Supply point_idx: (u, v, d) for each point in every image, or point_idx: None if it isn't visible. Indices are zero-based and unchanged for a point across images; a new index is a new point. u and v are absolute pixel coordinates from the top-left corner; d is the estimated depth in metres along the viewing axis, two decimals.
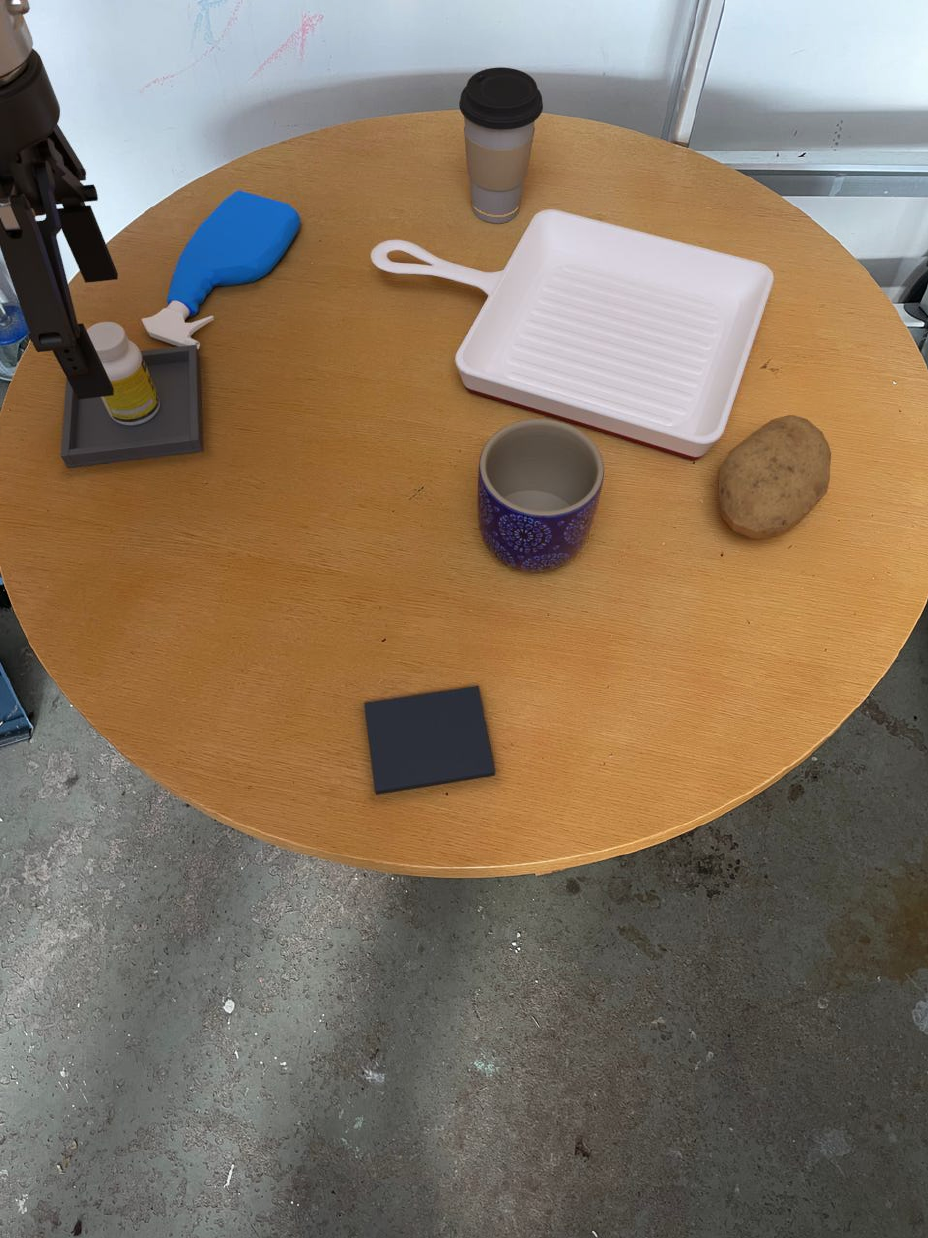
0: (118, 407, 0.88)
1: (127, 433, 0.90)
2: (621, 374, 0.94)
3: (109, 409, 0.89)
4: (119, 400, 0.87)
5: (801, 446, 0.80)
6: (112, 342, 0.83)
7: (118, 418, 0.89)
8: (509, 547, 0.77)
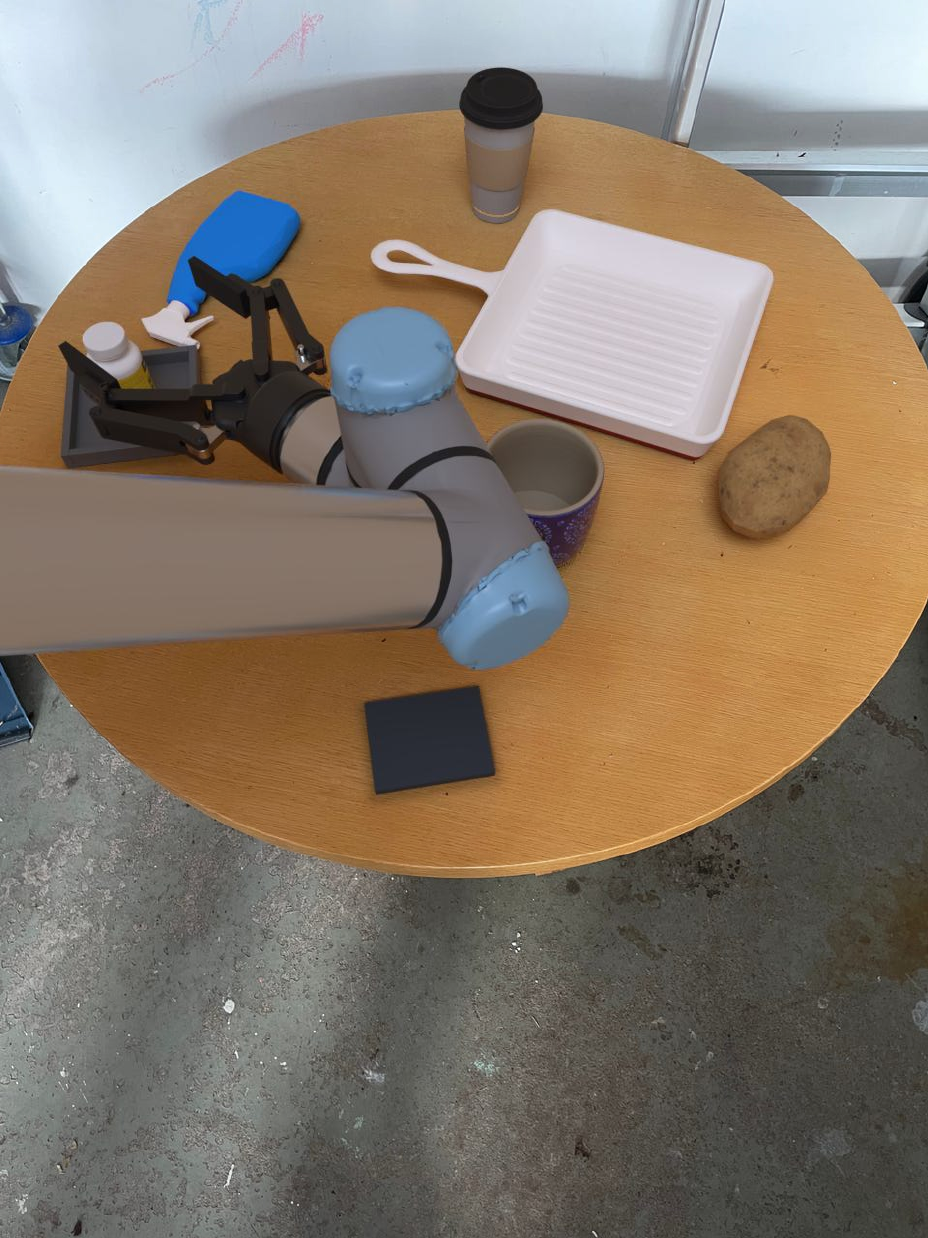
0: None
1: None
2: (621, 374, 0.94)
3: None
4: None
5: (801, 446, 0.80)
6: (112, 342, 0.83)
7: None
8: None
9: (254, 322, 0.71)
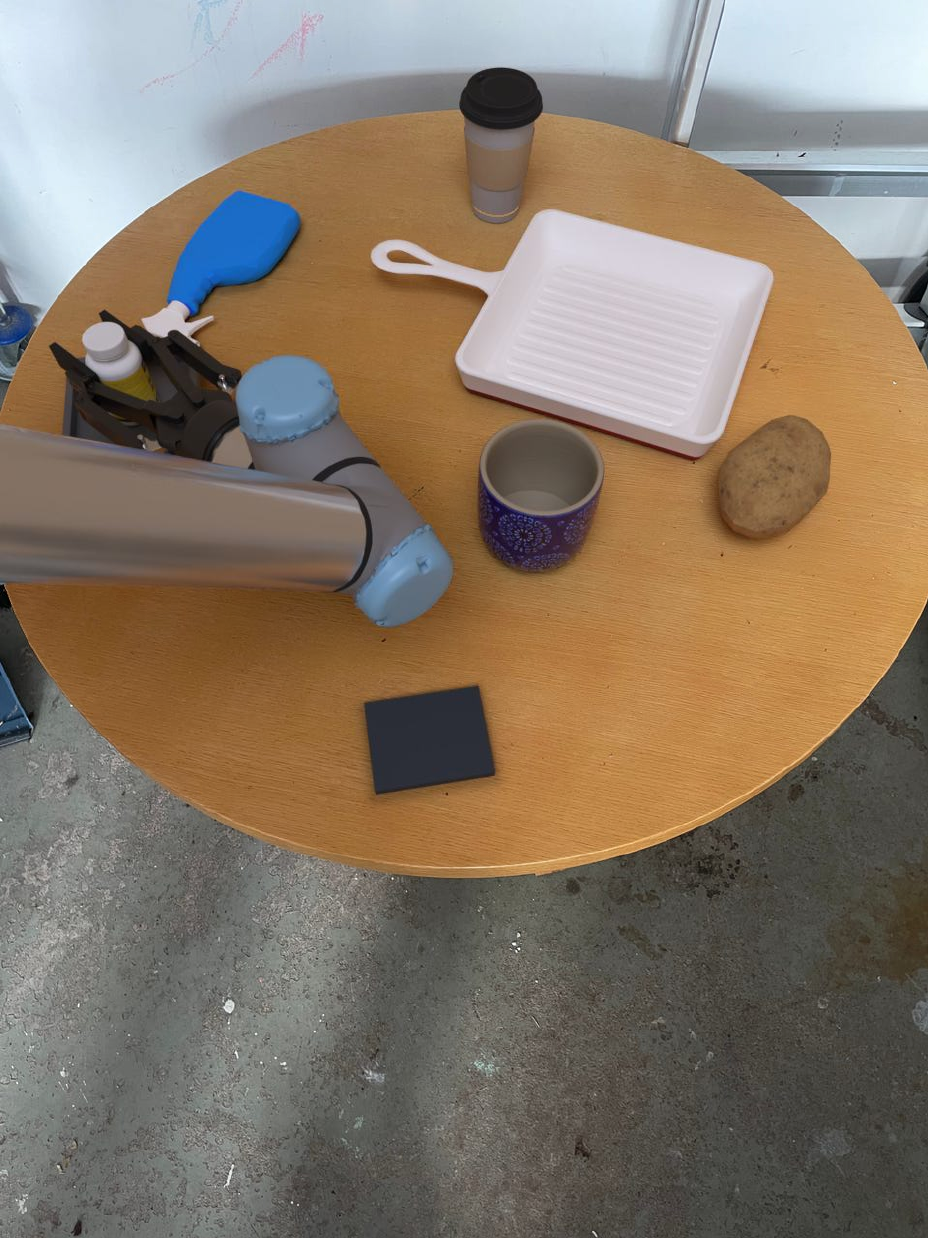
0: None
1: None
2: (621, 374, 0.94)
3: None
4: None
5: (801, 446, 0.80)
6: (111, 342, 0.83)
7: (118, 418, 0.89)
8: (509, 547, 0.77)
9: (168, 365, 0.84)
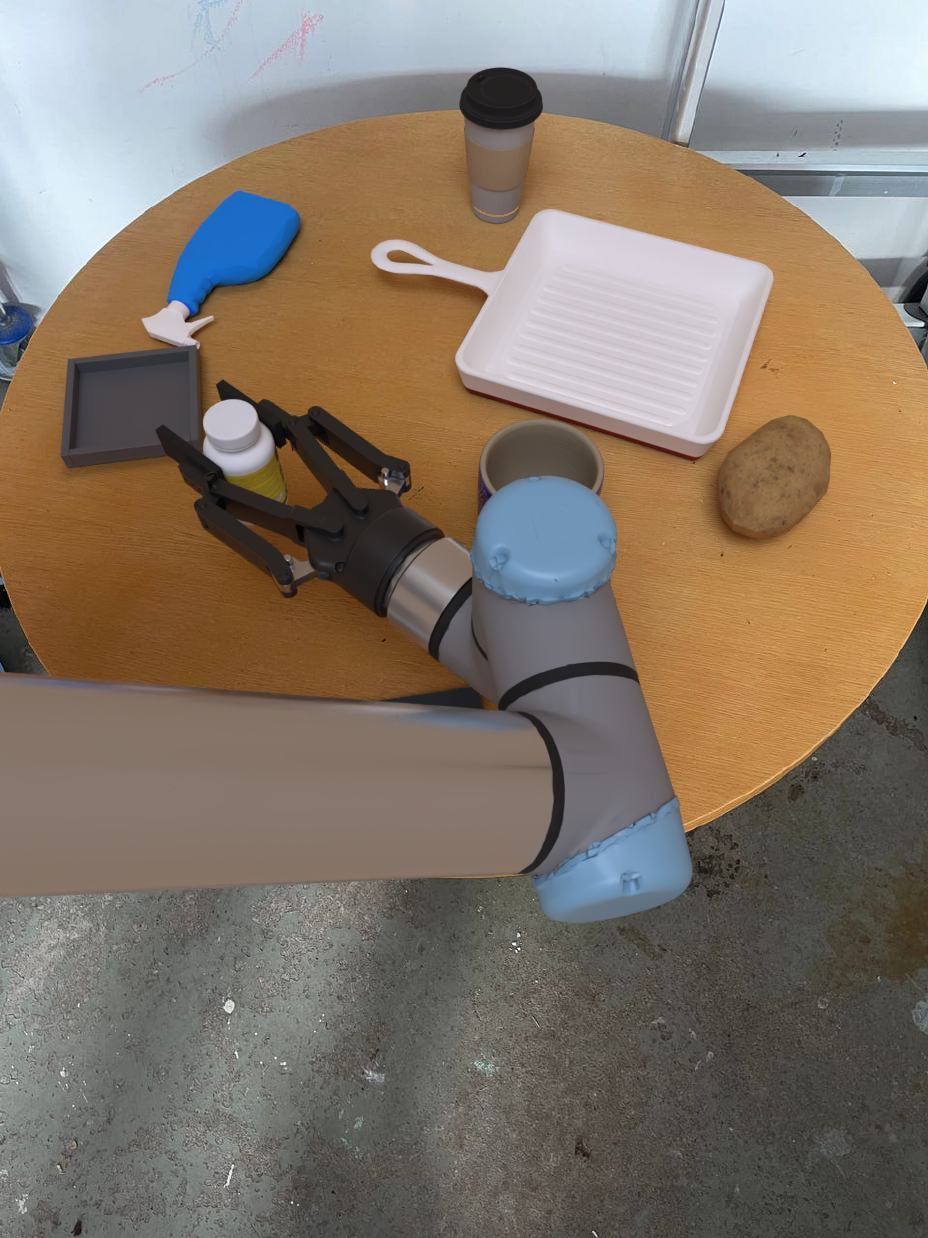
0: None
1: (127, 433, 0.90)
2: (621, 374, 0.94)
3: None
4: None
5: (801, 446, 0.80)
6: (242, 428, 0.63)
7: None
8: None
9: (313, 455, 0.64)
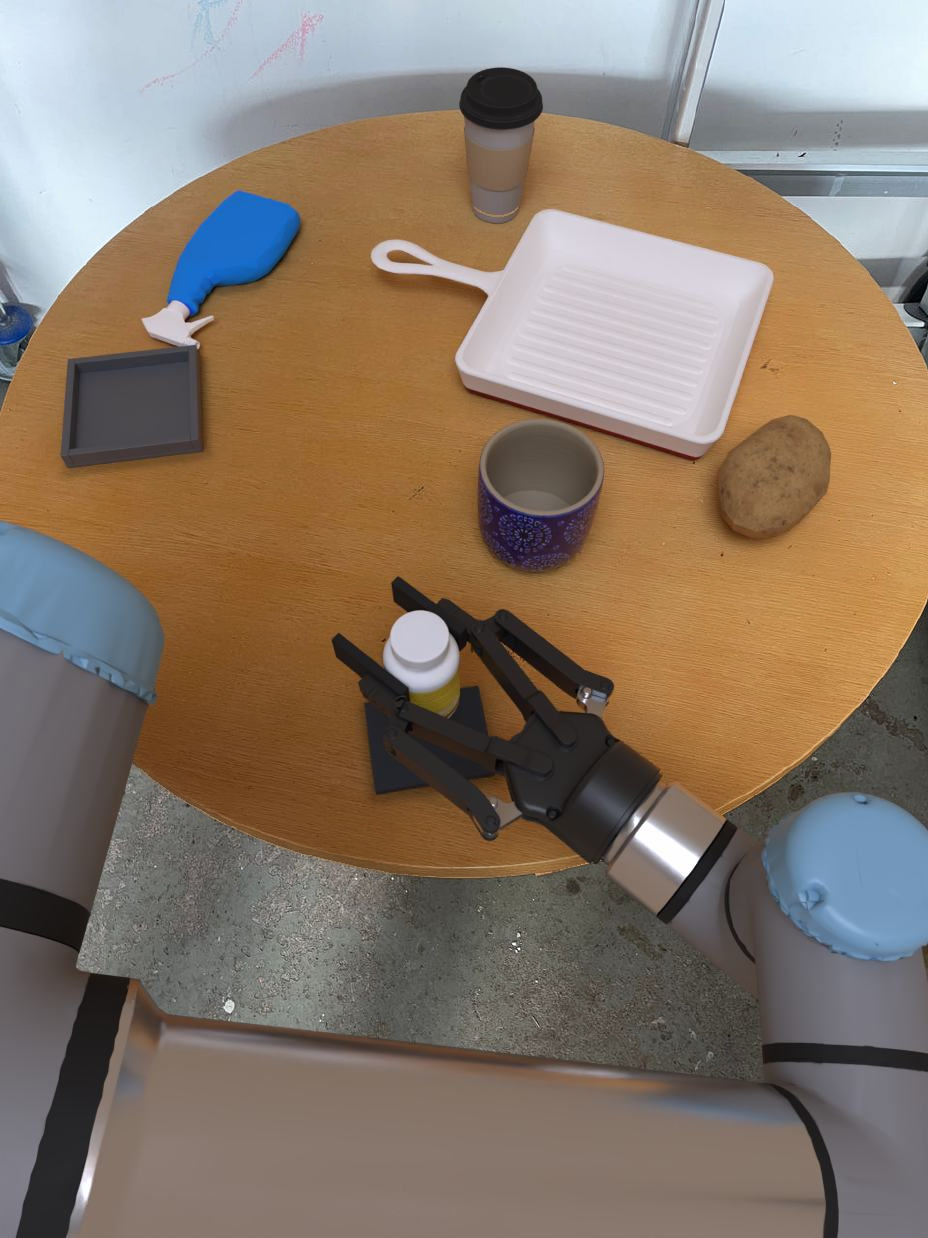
0: None
1: (127, 433, 0.90)
2: (621, 374, 0.94)
3: None
4: None
5: (801, 446, 0.80)
6: (434, 648, 0.57)
7: None
8: (509, 547, 0.77)
9: (507, 672, 0.59)
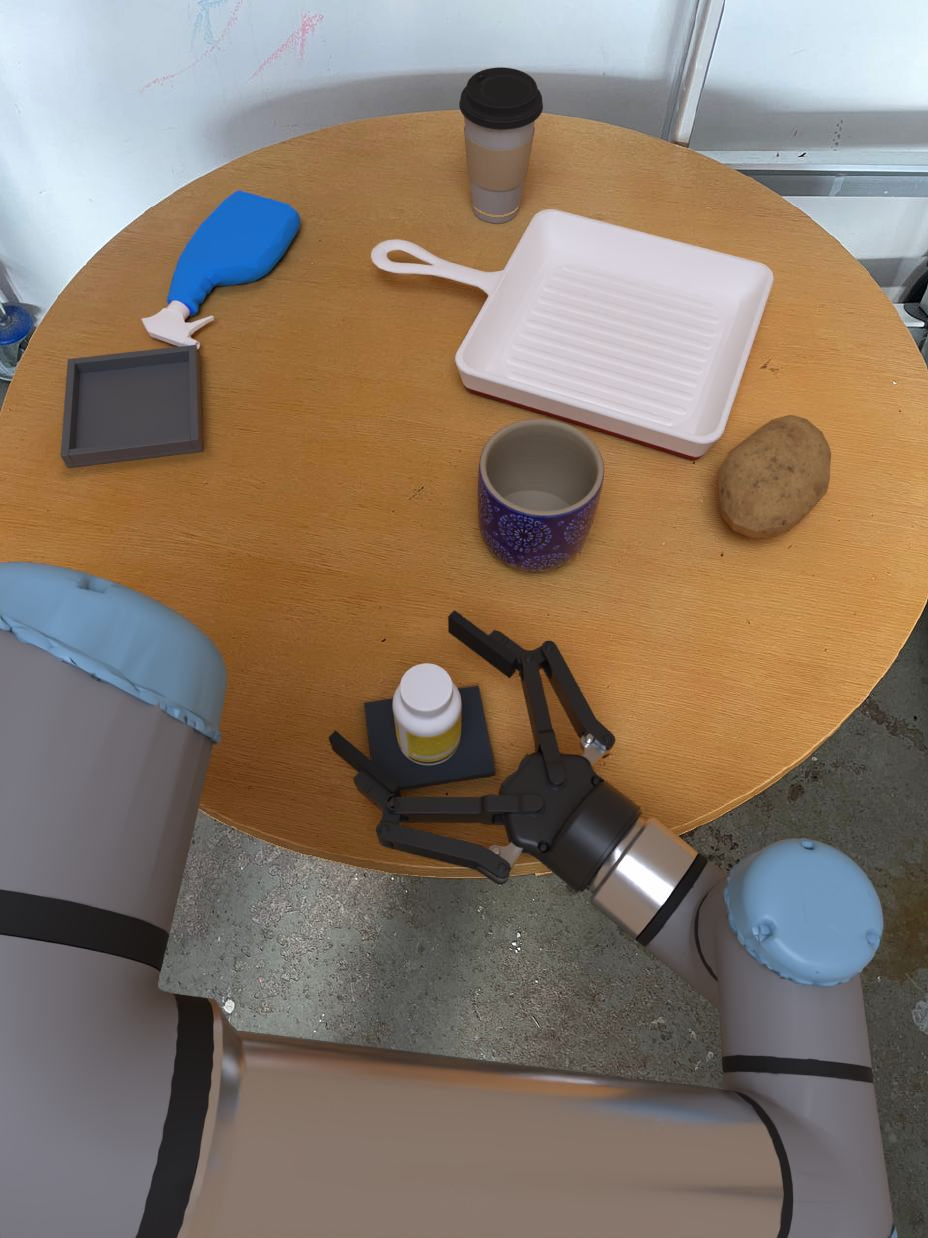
0: (423, 754, 0.69)
1: (127, 433, 0.90)
2: (621, 374, 0.94)
3: (408, 752, 0.70)
4: (428, 750, 0.68)
5: (801, 446, 0.80)
6: (439, 698, 0.64)
7: (417, 760, 0.71)
8: (509, 547, 0.77)
9: (534, 703, 0.66)
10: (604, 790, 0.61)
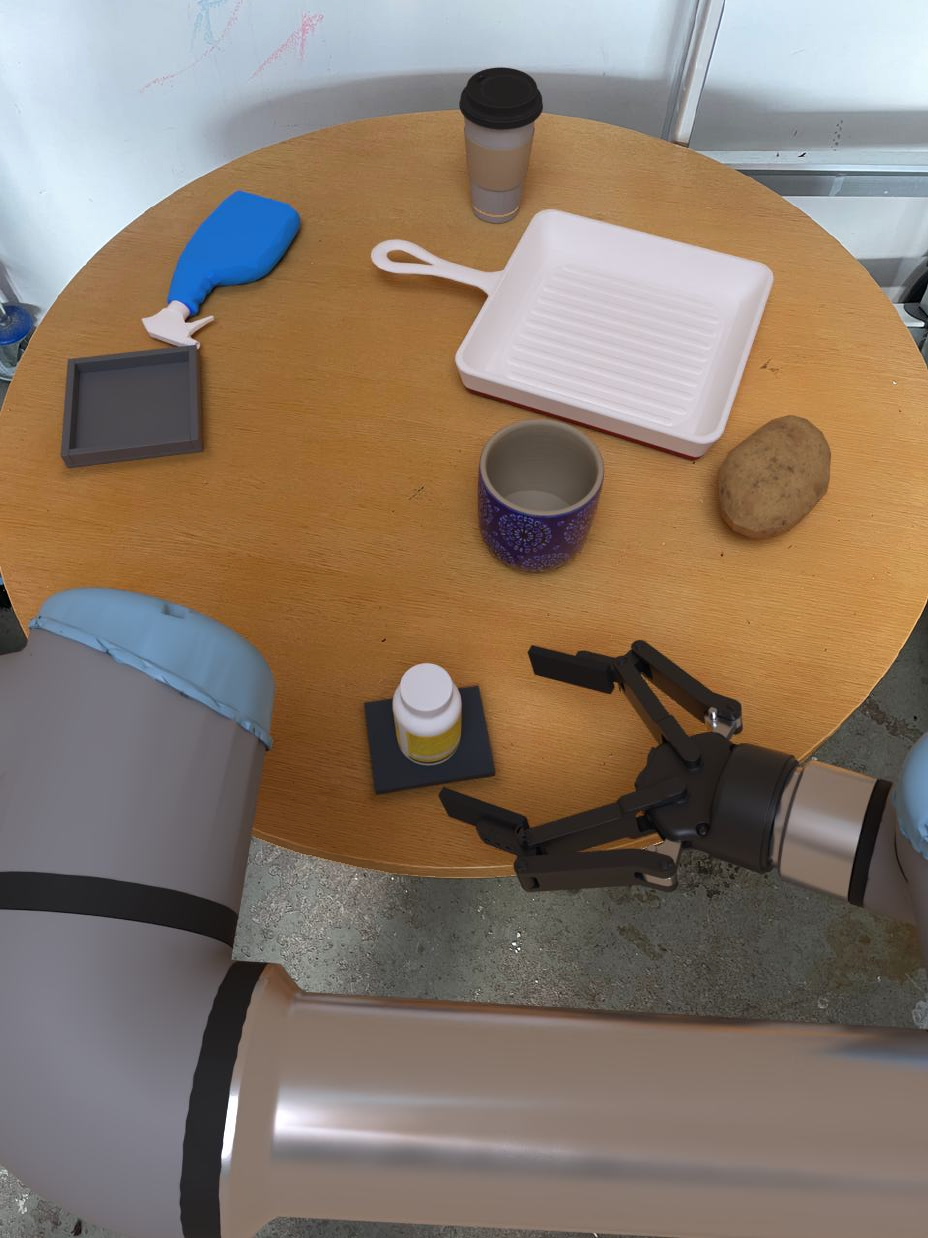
0: (423, 754, 0.69)
1: (127, 433, 0.90)
2: (621, 374, 0.94)
3: (408, 751, 0.70)
4: (428, 749, 0.68)
5: (801, 446, 0.80)
6: (439, 698, 0.64)
7: (417, 760, 0.71)
8: (509, 547, 0.77)
9: (641, 699, 0.60)
10: (746, 746, 0.54)
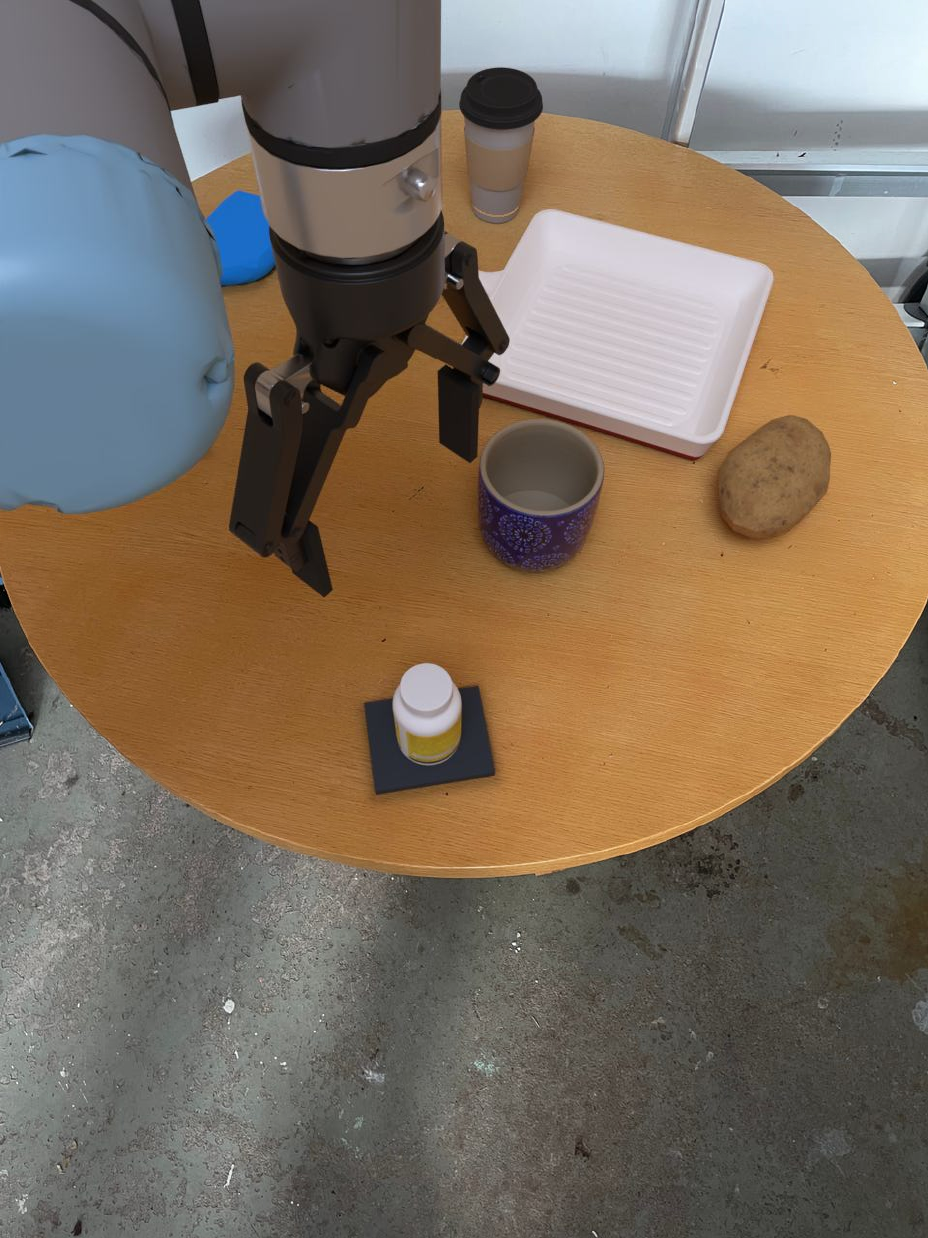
0: (423, 754, 0.69)
1: None
2: (621, 374, 0.94)
3: (408, 751, 0.70)
4: (428, 749, 0.68)
5: (801, 446, 0.80)
6: (439, 698, 0.64)
7: (417, 760, 0.71)
8: (509, 547, 0.77)
9: None
10: None
